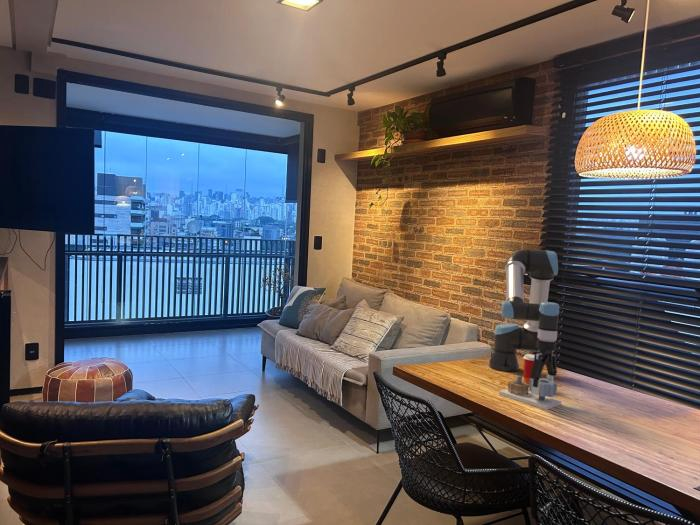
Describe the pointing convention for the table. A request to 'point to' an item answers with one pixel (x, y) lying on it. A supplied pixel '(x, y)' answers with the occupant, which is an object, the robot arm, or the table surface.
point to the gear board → (531, 397)
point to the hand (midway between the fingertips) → (542, 392)
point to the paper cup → (528, 367)
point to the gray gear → (545, 387)
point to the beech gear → (518, 388)
